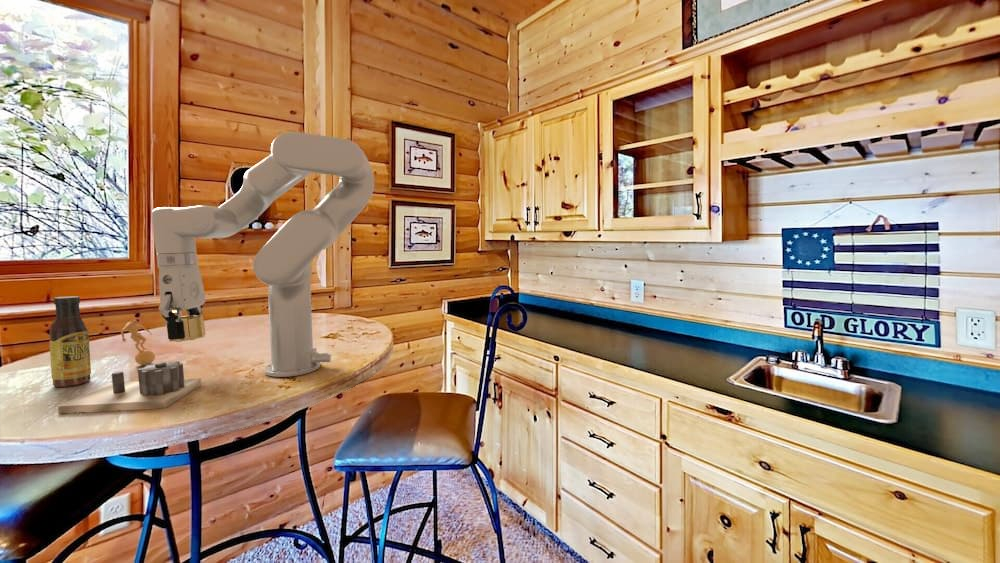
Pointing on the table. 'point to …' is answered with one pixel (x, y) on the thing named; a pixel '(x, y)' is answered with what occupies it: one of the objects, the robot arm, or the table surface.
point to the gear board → (136, 391)
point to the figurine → (143, 355)
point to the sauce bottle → (69, 344)
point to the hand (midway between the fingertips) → (186, 334)
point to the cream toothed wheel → (192, 328)
